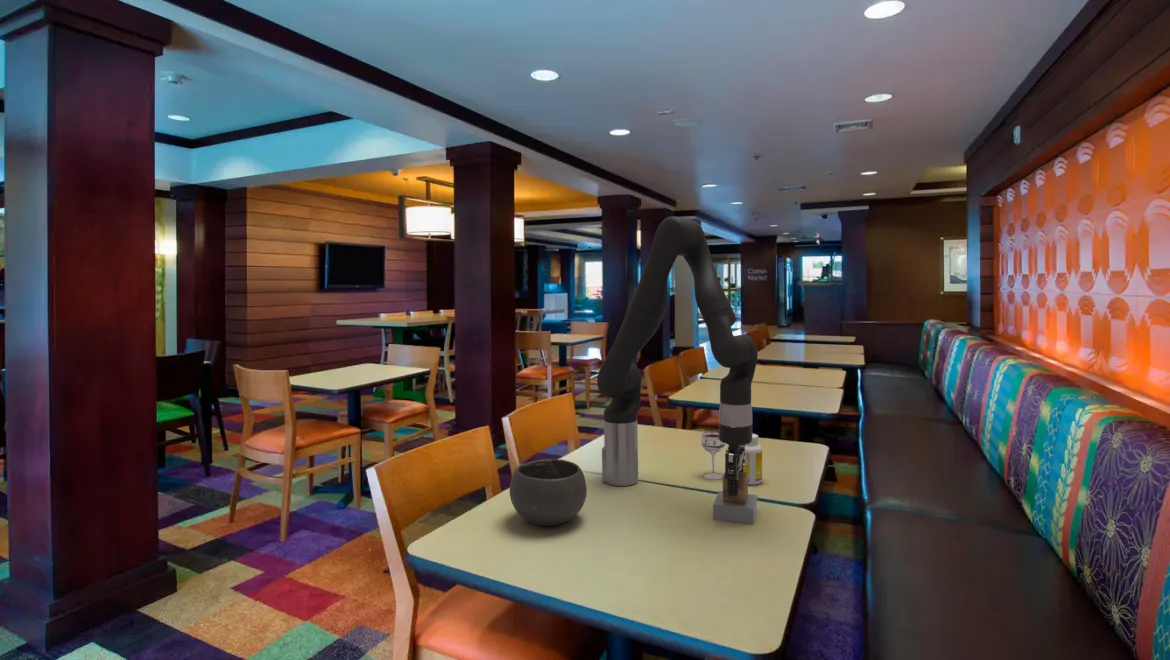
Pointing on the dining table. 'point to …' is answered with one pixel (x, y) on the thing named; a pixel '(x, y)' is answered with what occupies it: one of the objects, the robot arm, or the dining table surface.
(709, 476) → the wineglass
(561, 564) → the dining table surface
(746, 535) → the dining table surface
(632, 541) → the dining table surface
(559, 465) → the bowl
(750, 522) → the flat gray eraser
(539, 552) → the dining table surface
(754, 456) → the supplement bottle
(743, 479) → the walnut block
